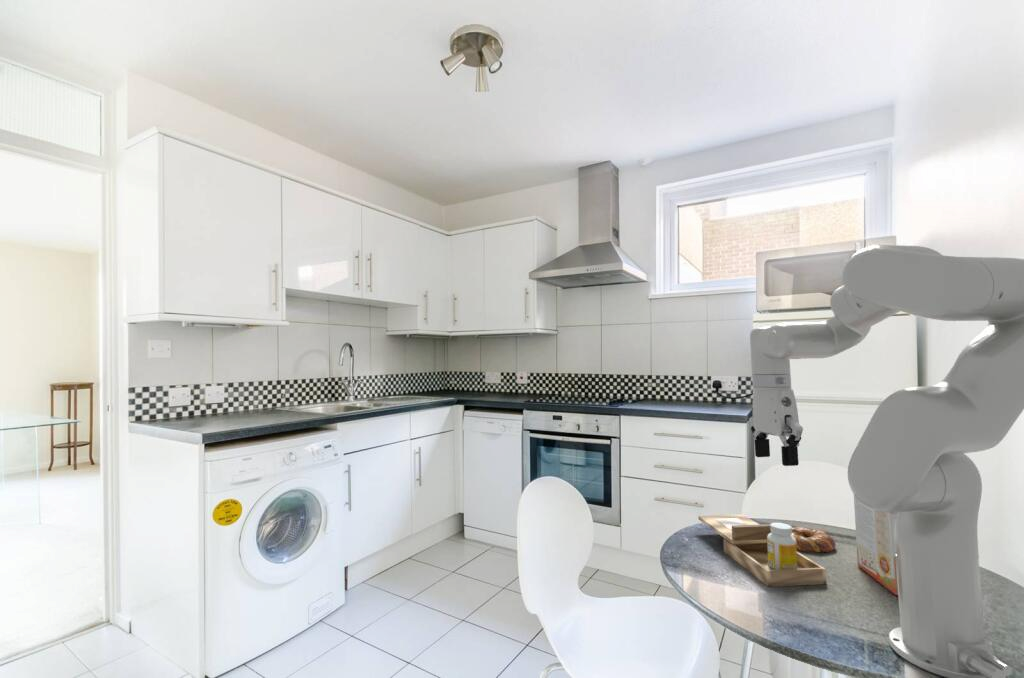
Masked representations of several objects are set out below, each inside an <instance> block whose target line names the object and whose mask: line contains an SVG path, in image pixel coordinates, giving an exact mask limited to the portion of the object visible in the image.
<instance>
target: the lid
mask: <svg viewBox="0 0 1024 678" xmlns="http://www.w3.org/2000/svg"><path fill="white" fill-rule="evenodd" d="M697 518H698V520H699V521H700V522H702V523H703V524H705V526H707V527H709V528H710V529H711V530H713V531H714V532H715V533H717V535H720V536H721V537H722V538H723V539H726V540H728V541H729V542H730V543H732V544H757V543H767V536H768V534H769V533H772V532H771V530H770V524H771V523H766V524H759V523H758V522H756V521H754V520H752V519H751V518H749V517H747V516H746V515H744V514H722V515H721V514H719V515H717V514H716V515H700V516H699V515H698V517H697Z"/></svg>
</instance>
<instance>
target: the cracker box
mask: <svg viewBox="0 0 1024 678" xmlns="http://www.w3.org/2000/svg"><path fill="white" fill-rule="evenodd" d="M853 505H854V506H853V507H854V520H855V521H854V522H855V540H856V542H855V543H856V559H857V566H858V567H859V568H860V569H862V570H863V571H865V572H866V573H867V574H868V575H869V576H870V577H872V578H873V579H874V580H875V581H877V582H878V583H879V584H880V585H882V586H883V587H884V588H885V589H887V590H888V591H889V592H891V593H892V594H894V595H895V596H898V583H897V569H896V554H895V537H894V529H895V521H896V517H897V513H898V512H894V513H890V512H881V511H877V510H874V509H872V508H869V507H868V506H866V505H864V504H863V503H862V502H860V501H859V500H858V499H857V498H856V496H855V495H854V494H853Z"/></svg>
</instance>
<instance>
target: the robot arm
mask: <svg viewBox="0 0 1024 678" xmlns="http://www.w3.org/2000/svg"><path fill="white" fill-rule="evenodd" d="M841 275H842V276H841V281H842V283H843V285H841V286H840V287H837V288H836V289H835V290H834V291H833V292H832V294H831V295H830V300H829V305H830V309H831V312H832V313H833V316H831V317H829V318H828V319H826V320H824V321H821V322H783V323H777V324H774V325H771V326H762V327H756V328H752V330H751V331H750V334H749V342H750V360H751V363H750V364H751V377H752V378H751V380H752V389H753V393H752V416H751V417H749V418H748V422H749V424H750V431H751V432H752V439H753V440H754V454H755V457H756V458H769V457H770V456H771V450H770V448H771V447H770V439H769V438H768V437H769V435H771V436H776V437H779V439H780V441H781V443H782V446H781V445H780V447H781V448H780V449H781V463H782V466H785V467H792V466H799V452H798V451H799V449H798V447H799V446H800V441H801V440H802V435H803V431H804V428H803V426H802V425H801V424H800V421H799V420H800V419H799V411H798V407H797V401H796V395H795V393H794V389H793V388H792V375H791V374H792V373H791V362H790V361H791V360H802V359H804V360H805V359H825V358H831V357H834V356H837V355H838V354H839V355H840V354H841V353H843V352H844V351H848V350H849V349H851V348H853V347H855V346H857V345H859V344H860V343H861V342H862V341H864V340H865V338H866V337H867V336H868V334H869V333H870V331H871V327H873V326H875V325H877V324H878V323H881V322H882V321H884V320H886V319H888V318H890V317H892V316H894V315H896V314H898V313H899V312H903V313H906V314H910V315H913V316H918V317H922V318H926V319H931V320H938V321H943V322H944V321H946V322H963V321H964V322H969V321H970V322H971V321H973V322H974V321H975V322H977V321H978V322H979V321H981V322H983V321H987V322H988V324H987V326H986V327H985V329H983V331H981V332H980V334H978V335H977V336H976V337H975V338H974V339H972V340H971V341H970V342H968V344H966V345H965V347H964V348H963V349H962V350H961V352H959V354H958V356H957V358H956V360H955V362H954V364H953V366H952V367H951V368H950V370H949V371H948V373H947V374H946V376H945V377H944V379H942V380H941V382H939V383H937V384H935V385H923V386H922V385H921V386H911V387H907V388H905V387H904V388H902V389H899V390H897V391H894V392H893V393H892V394H889V396H887V397H886V398H884V400H883V401H882V402H881V403H880V404H879V405H878V406H877V408H876V410H874V413H873V414H872V417H871V418H870V420H869V422H868V424H867V426H866V428H865V430H864V431H863V433H862V436H861V437H860V439H859V441H858V443H857V444H856V447H855V449H854V450H853V453H852V454H851V457H850V459H849V462H848V467H847V481H848V485H849V488H850V490H851V493H852V494H853V496H854V495H855V496H856V498H857V499H858V500H859V501H860V502H862V503H863V504H864V505H866V506H868V507H869V508H872V509H874V510H877V511H881V512H890V513H894V512H898V513H897V517H896V521H895V529H894V537H895V554H896V569H897V583H898V595H897V596H898V606H899V607H898V609H899V610H898V611H899V625H900V626H898V627H894V628H893V629H891V630H890V631H889V633H888V641H889V645H890V647H891V648H892V650H894V651H895V653H896V654H897V655H899V656H901V657H902V658H903V659H904V660H905V661H908V662H909V663H911V664H912V665H914V666H917V667H918V668H920V669H922V670H925V671H927V672H930V673H932V674H936V675H938V676H941V677H944V678H1007V677H1010V676H1011V675H1012V674H1013V669H1012V667H1011V666H1010V665H1008V664H1007V663H1005V662H1003V661H1001V660H999V658H997V656H995V655H994V647H993V646H994V645H993V643H992V642H990V641H989V640H987V639H985V636H986V635H985V625H984V624H985V623H984V613H983V611H984V610H983V600H982V586H981V584H982V583H981V574H980V564H979V563H980V561H979V559H980V555H979V543H978V541H979V540H978V522H979V521H978V520H979V512H980V511H979V510H980V505H981V502H982V501H981V499H982V493H983V484H982V477H981V474H980V471H979V469H978V467H977V465H976V464H975V463H974V461H973V460H972V459H971V458H970V457H969V456H968V455H967V454H969V453H977V452H983V451H986V450H990V449H993V448H995V447H997V446H998V445H999V444H1000V443H1001V442H1002V441H1003V439H1004V438H1005V437H1006V435H1007V434H1009V431H1010V430H1011V428H1012V427H1013V426H1014V424H1015V422H1016V421H1017V419H1018V418H1019V417H1020V415H1021V414H1022V412H1024V258H1017V257H1016V258H1015V257H996V256H995V257H993V256H992V257H990V256H989V257H988V256H987V257H984V256H981V257H980V256H979V257H978V256H952V255H951V256H950V255H943V254H942V253H941V252H939V251H937V250H935V249H932V248H929V247H925V246H921V245H919V246H918V245H898V244H897V245H896V244H877V245H871V246H868V247H865V248H862V249H860V250H858V251H857V252H855V253H854V254H853V255H852V256H851V257H850V258H849V259H848V260H847V262H846V263H845V265H844V267H843V270H842V274H841Z"/></svg>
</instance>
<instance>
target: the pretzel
mask: <svg viewBox="0 0 1024 678" xmlns="http://www.w3.org/2000/svg"><path fill="white" fill-rule="evenodd" d="M791 527H792V534H791V536H793V537H794V538H795V540H796V548H797V549H799V551H802V552H804V551H805V553H809V552H816V553H819V552H821V554H824V552H826V553H829V552H832V551H834V549H835V548H836V546H837V545H836V541H835V539H834V538H833V537H832V536H830V535H829V534H828V532H826V531H824V530H822V529H817V528H812V529H810V528H809V527H804V526H791Z"/></svg>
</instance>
